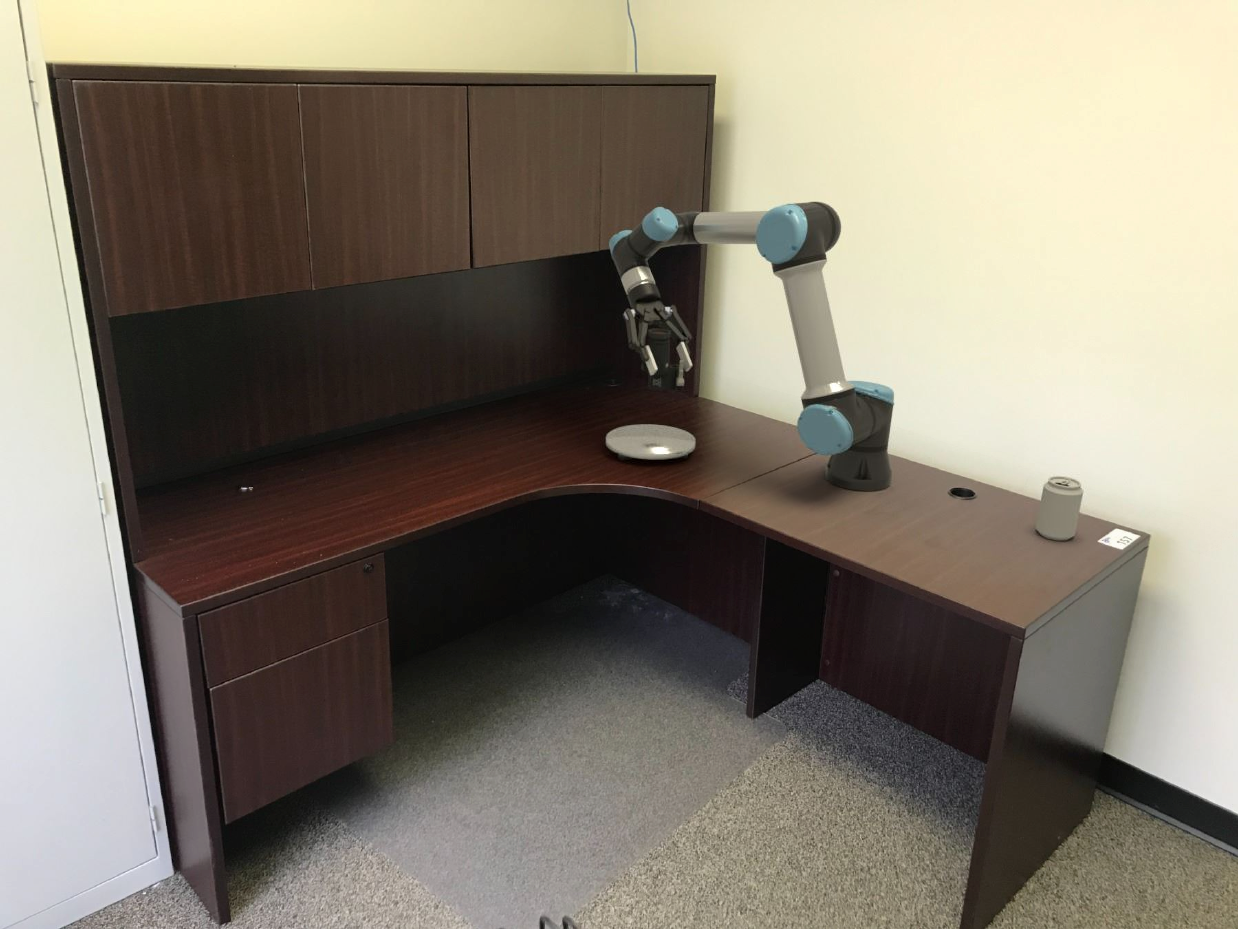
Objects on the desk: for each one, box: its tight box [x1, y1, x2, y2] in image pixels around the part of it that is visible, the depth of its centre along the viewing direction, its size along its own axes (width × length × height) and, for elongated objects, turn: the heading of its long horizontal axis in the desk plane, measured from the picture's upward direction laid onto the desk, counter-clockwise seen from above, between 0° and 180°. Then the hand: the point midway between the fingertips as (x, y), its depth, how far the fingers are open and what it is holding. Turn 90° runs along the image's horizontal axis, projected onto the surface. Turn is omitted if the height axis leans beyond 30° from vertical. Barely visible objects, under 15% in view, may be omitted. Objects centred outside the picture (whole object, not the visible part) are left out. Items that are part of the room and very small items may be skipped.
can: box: [1035, 475, 1084, 541], centre depth 207 cm, size 8×8×12 cm
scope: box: [640, 328, 686, 393], centre depth 239 cm, size 8×14×10 cm
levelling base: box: [605, 423, 696, 461], centre depth 249 cm, size 22×22×4 cm
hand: (671, 370), depth 238 cm, fingers closed on scope, 9 cm apart
